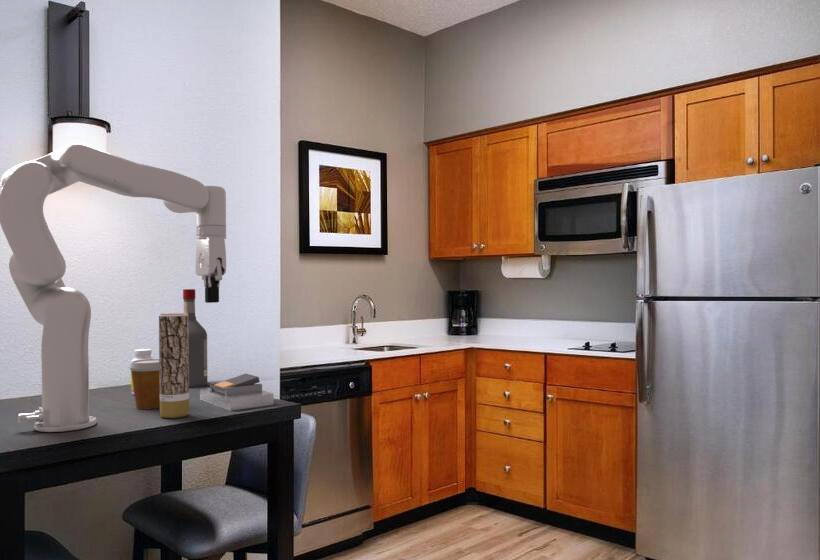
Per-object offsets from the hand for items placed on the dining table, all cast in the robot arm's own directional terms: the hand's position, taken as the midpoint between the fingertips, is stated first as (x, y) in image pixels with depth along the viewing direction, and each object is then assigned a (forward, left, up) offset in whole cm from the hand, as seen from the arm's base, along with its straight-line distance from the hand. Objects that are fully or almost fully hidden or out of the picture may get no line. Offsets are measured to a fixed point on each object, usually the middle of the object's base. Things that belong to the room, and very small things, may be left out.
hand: (212, 302), depth 177 cm
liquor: (+7, +35, -27) cm, 45 cm away
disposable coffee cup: (-14, +8, -27) cm, 32 cm away
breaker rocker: (+6, -1, -22) cm, 23 cm away
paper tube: (-13, -8, -27) cm, 31 cm away
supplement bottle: (-9, +29, -27) cm, 41 cm away
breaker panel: (+6, -1, -27) cm, 28 cm away
